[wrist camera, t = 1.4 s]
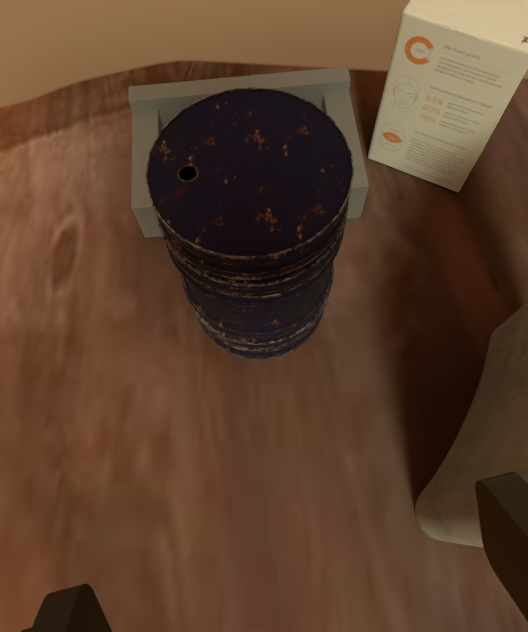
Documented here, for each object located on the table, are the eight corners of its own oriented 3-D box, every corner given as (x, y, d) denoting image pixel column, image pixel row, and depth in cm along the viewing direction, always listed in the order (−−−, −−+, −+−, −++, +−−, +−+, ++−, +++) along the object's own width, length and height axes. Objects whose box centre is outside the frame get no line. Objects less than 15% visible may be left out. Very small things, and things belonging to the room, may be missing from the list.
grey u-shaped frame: (145, 238, 39) (127, 200, 34) (144, 132, 43) (128, 86, 38) (360, 217, 39) (371, 177, 34) (340, 114, 43) (347, 66, 38)
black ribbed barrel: (315, 232, 39) (337, 75, 25) (337, 351, 35) (377, 245, 21) (189, 247, 38) (139, 97, 25) (198, 369, 35) (145, 273, 21)
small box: (483, 139, 42) (568, -15, 30) (458, 195, 40) (537, 55, 28) (393, 106, 43) (439, -53, 31) (364, 158, 41) (400, 11, 29)
